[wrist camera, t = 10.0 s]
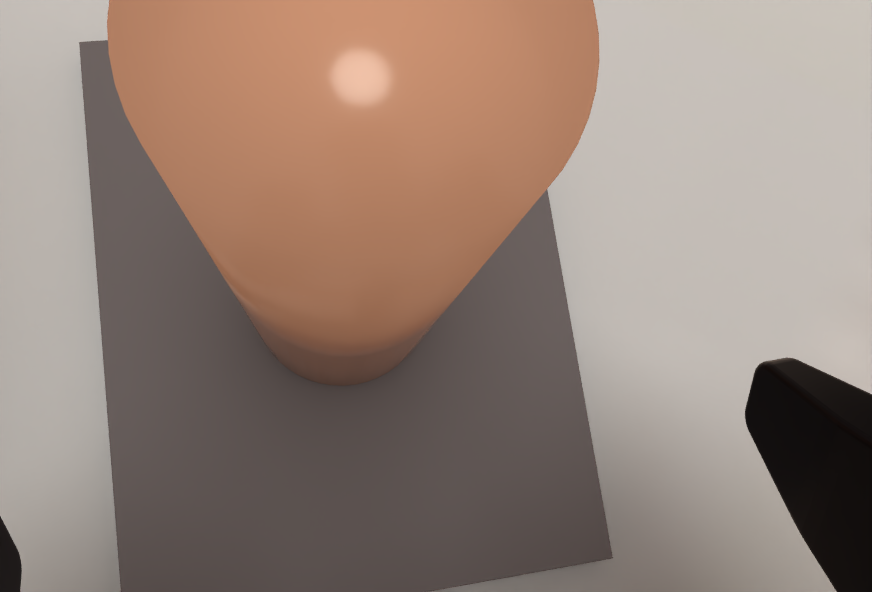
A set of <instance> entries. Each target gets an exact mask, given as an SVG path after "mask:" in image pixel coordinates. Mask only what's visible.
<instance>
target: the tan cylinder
mask: <svg viewBox="0 0 872 592" xmlns="http://www.w3.org/2000/svg"><path fill="white" fill-rule="evenodd" d="M107 29H108V50H109V58H110V63H111V68H112V73H113V78H114V83H115V86H116V89H117V92H118V95H119V98H120V101H121V103H122V106H123V109H124V112H125V115H126V117H127V118H128V120H129V122H130V124H131V126H132V128H133V130H134V132H135V134H136V136H137V138H138V139H139V141H140V143H141V145H142V147H143V148H144V150H145V151H146V153H147V155H148V156H149V158H150V159H151V161H152V163H153V164H154V166H155V168H156V169H157V171H158V172H159V174H160V176H161V177H162V179H163V180H164V182H165V184H166V185H167V187H168V189H169V190H170V192H171V193H172V195H173V197H174V198H175V200H176V201H177V203H178V205H179V206H180V208H181V210H182V211H183V213H184V214H185V216H186V218H187V219H188V221H189V222H190V224H191V226H192V227H193V229H194V231H195V232H196V234H197V235H198V237H199V239H200V240H201V242H202V243H203V245H204V247H205V248H206V250H207V252H208V253H209V255H210V256H211V258H212V260H213V261H214V263H215V264H216V266H217V268H218V269H219V271H220V273H221V274H222V276H223V277H224V279H225V281H226V282H227V284H228V285H229V287H230V289H231V290H232V292H233V294H234V295H235V297H236V298H237V300H238V302H239V303H240V305H241V306H242V308H243V310H244V311H245V313H246V315H247V316H248V318H249V319H250V321H251V323H252V324H253V326H254V327H255V329H256V331H257V332H258V334H259V336H260V337H261V339H262V340H263V342H264V344H265V345H266V346H267V348H268V349H269V351H270V352H271V353H272V354H273V356H274V357H275V358H276V359H277V360H278V361H279V362H280V363H281V364H283V365H284V366H285V367H286V368H288V369H289V370H291V371H292V372H294V373H295V374H297V375H299V376H301V377H303V378H306V379H308V380H310V381H314V382H317V383H320V384H327V385H336V386H346V385H356V384H360V383H364V382H368V381H371V380H373V379H376V378H378V377H380V376H382V375H384V374H386V373H388V372H389V371H391V370H392V369H393V368H395V367H396V366H398V365H399V364H400V363H401V362H402V361H403V360H404V359H405V358H406V357H407V356H408V355H409V353H410V352H411V351H412V350H413V349H414V347H415V346H416V345H417V344H418V343H419V342H420V340H421V339H422V338H423V337H424V336H425V334H426V333H427V332H428V331H429V330H430V328H431V327H432V326H433V325H434V324H435V322H436V321H437V320H438V319H439V318H440V316H441V315H442V314H443V313H444V312H445V310H446V309H447V308H448V307H449V306H450V304H451V303H452V302H453V301H454V300H455V298H456V297H457V296H458V295H459V294H460V292H461V291H462V290H463V289H464V288H465V286H466V285H467V284H468V283H469V282H470V280H471V279H472V278H473V277H474V276H475V275H476V273H477V272H478V271H479V270H480V269H481V267H482V266H483V265H484V264H485V263H486V261H487V260H488V259H489V258H490V257H491V255H492V254H493V253H494V252H495V251H496V249H497V248H498V247H499V246H500V245H501V243H502V242H503V241H504V240H505V239H506V237H507V236H508V235H509V234H510V233H511V231H512V230H513V229H514V228H515V227H516V225H517V224H518V223H519V222H520V221H521V219H522V218H523V217H524V216H525V215H526V213H527V212H528V211H529V210H530V209H531V208H532V206H533V205H534V204H535V203H536V202H537V200H538V199H539V198H540V197H541V196H542V194H543V193H544V192H545V191H546V189H547V188H548V187H549V186H550V184H551V183H552V182H553V181H554V180H555V178H556V177H557V176H558V175H559V173H560V172H561V171H562V170H563V168H564V166H565V165H566V163H567V161H568V160H569V158H570V156H571V155H572V153H573V151H574V150H575V148H576V146H577V145H578V142H579V140H580V138H581V135H582V133H583V130H584V128H585V126H586V123H587V121H588V118H589V115H590V111H591V107H592V104H593V100H594V96H595V92H596V86H597V77H598V68H599V33H598V26H597V20H596V14H595V8H594V3H593V0H109V10H108V19H107Z"/></svg>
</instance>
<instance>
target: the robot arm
mask: <svg viewBox="0 0 872 592" xmlns="http://www.w3.org/2000/svg"><path fill="white" fill-rule="evenodd" d="M745 419H746V424H747V427H748V430H749V432H750V434H751V436H752V438H753V440H754V442H755V444H756V446H757V448H758V450H759V452H760V454H761V456H762V458H763V460H764V462H765V464H766V467H767V469H768V471H769V473H770V475H771V477H772V479H773V481H774V483H775V485H776V487H777V489H778V491H779V493H780V495H781V497H782V499H783V501H784V503H785V505H786V507H787V509H788V511H789V513H790V515H791V517H792V519H793V520H794V522H795V524H796V526H797V528H798V530H799V532H800V533H801V535H802V537H803V538H804V540H805V542H806V543H807V545H808V547H809V548H810V550H811V552H812V553H813V555H814V556H815V558H816V560H817V561H818V563H819V564H820V566H821V567H822V569H823V571H824V572H825V574H826V575H827V577H828V578H829V580H830V582H831V583H832V585H833V586H834V588H835V590H836V591H837V592H872V394H870V393H868V392H866V391H863V390H861V389H859V388H857V387H855V386H853V385H850V384H848V383H846V382H844V381H842V380H840V379H838V378H835V377H833V376H831V375H829V374H827V373H825V372H822V371H820V370H818V369H816V368H814V367H812V366H809V365H807V364H805V363H803V362H801V361H799V360H796V359H794V358H782V359H777V360H771V361H766V362H763V363H761V364H759V365H758V367H757V368H756V370H755V373H754V377H753V381H752V385H751V389H750V393H749V397H748V401H747V405H746V410H745ZM21 571H22V570H21V560H20V555H19V552H18V550H17V548H16V546H15V544H14V542H13V540H12V538H11V536H10V534H9V532H8V530H7V528H6V526H5V524H4V523H3V521H2V519H1V517H0V592H20V586H21Z"/></svg>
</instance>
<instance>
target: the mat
mask: <svg viewBox="0 0 872 592" xmlns="http://www.w3.org/2000/svg"><path fill="white" fill-rule="evenodd" d="M79 44H80V57H81V71H82V84H83V97H84V110H85V123H86V136H87V150H88V163H89V176H90V189H91V202H92V215H93V229H94V242H95V255H96V268H97V281H98V294H99V308H100V321H101V334H102V347H103V360H104V373H105V386H106V400H107V413H108V426H109V439H110V452H111V465H112V479H113V492H114V505H115V518H116V531H117V544H118V558H119V571H120V584H121V592H428V591H434V590H439V589H445V588H450V587H456V586H462V585H467V584H473V583H478V582H484V581H489V580H495V579H500V578H506V577H511V576H517V575H522V574H528V573H534V572H539V571H545V570H550V569H556V568H561V567H567V566H572V565H578V564H583V563H589V562H594V561H600V560H605V559H611V558H613V557H612V552H611V546H610V540H609V535H608V529H607V523H606V518H605V512H604V507H603V501H602V495H601V490H600V484H599V478H598V473H597V467H596V462H595V456H594V450H593V445H592V439H591V433H590V428H589V422H588V417H587V411H586V405H585V400H584V394H583V388H582V383H581V377H580V372H579V366H578V360H577V355H576V349H575V343H574V338H573V332H572V327H571V321H570V315H569V310H568V304H567V298H566V293H565V287H564V282H563V276H562V270H561V265H560V259H559V253H558V248H557V242H556V236H555V231H554V225H553V220H552V214H551V208H550V203H549V197H548V191H547V189H546V191H545V192H544V193H543V194H542V196H541V197H540V198H539V199H538V200H537V202H536V203H535V204H534V205H533V206H532V208H531V209H530V210H529V211H528V212H527V213H526V215H525V216H524V217H523V218H522V219H521V221H520V222H519V223H518V224H517V225H516V227H515V228H514V229H513V230H512V231H511V233H510V234H509V235H508V236H507V237H506V239H505V240H504V241H503V242H502V243H501V245H500V246H499V247H498V248H497V249H496V251H495V252H494V253H493V254H492V255H491V257H490V258H489V259H488V260H487V261H486V263H485V264H484V265H483V266H482V267H481V269H480V270H479V271H478V272H477V273H476V275H475V276H474V277H473V278H472V279H471V280H470V282H469V283H468V284H467V285H466V286H465V288H464V289H463V290H462V291H461V292H460V294H459V295H458V296H457V297H456V298H455V300H454V301H453V302H452V303H451V304H450V306H449V307H448V308H447V309H446V310H445V312H444V313H443V314H442V315H441V316H440V318H439V319H438V320H437V321H436V322H435V324H434V325H433V326H432V327H431V328H430V330H429V331H428V332H427V333H426V334H425V336H424V337H423V338H422V339H421V340H420V342H419V343H418V344H417V345H416V346H415V347H414V349H413V350H412V351H411V352H410V353H409V355H408V356H407V357H406V358H405V359H404V360H403V361H402V362H401V363H400V364H399V365H398V366H396V367H395V368H393V369H392V370H391V371H389V372H388V373H386V374H384V375H382V376H380V377H378V378H376V379H373V380H371V381H368V382H364V383H360V384H356V385H346V386H336V385H327V384H320V383H317V382H314V381H310V380H308V379H306V378H303V377H301V376H299V375H297V374H295V373H294V372H292V371H291V370H289V369H288V368H286V367H285V366H284V365H283V364H281V363H280V362H279V361H278V360H277V359H276V358H275V357H274V356H273V354H272V353H271V352H270V351H269V349H268V348H267V346H266V345H265V344H264V342H263V340H262V339H261V337H260V336H259V334H258V332H257V331H256V329H255V327H254V326H253V324H252V323H251V321H250V319H249V318H248V316H247V315H246V313H245V311H244V310H243V308H242V306H241V305H240V303H239V302H238V300H237V298H236V297H235V295H234V294H233V292H232V290H231V289H230V287H229V285H228V284H227V282H226V281H225V279H224V277H223V276H222V274H221V273H220V271H219V269H218V268H217V266H216V264H215V263H214V261H213V260H212V258H211V256H210V255H209V253H208V252H207V250H206V248H205V247H204V245H203V243H202V242H201V240H200V239H199V237H198V235H197V234H196V232H195V231H194V229H193V227H192V226H191V224H190V222H189V221H188V219H187V218H186V216H185V214H184V213H183V211H182V210H181V208H180V206H179V205H178V203H177V201H176V200H175V198H174V197H173V195H172V193H171V192H170V190H169V189H168V187H167V185H166V184H165V182H164V180H163V179H162V177H161V176H160V174H159V172H158V171H157V169H156V168H155V166H154V164H153V163H152V161H151V159H150V158H149V156H148V155H147V153H146V151H145V150H144V148H143V147H142V145H141V143H140V141H139V139H138V138H137V136H136V134H135V132H134V130H133V128H132V126H131V124H130V122H129V120H128V118H127V117H126V115H125V112H124V109H123V106H122V103H121V101H120V98H119V95H118V92H117V89H116V86H115V83H114V78H113V73H112V68H111V63H110V58H109V50H108V40H105V41H90V42H79Z"/></svg>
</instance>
